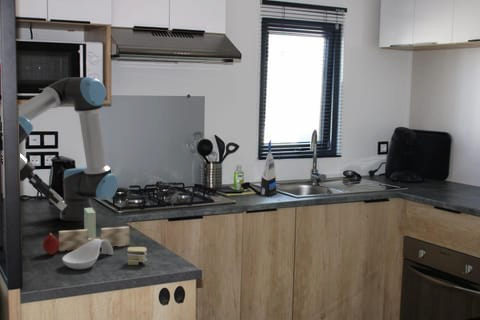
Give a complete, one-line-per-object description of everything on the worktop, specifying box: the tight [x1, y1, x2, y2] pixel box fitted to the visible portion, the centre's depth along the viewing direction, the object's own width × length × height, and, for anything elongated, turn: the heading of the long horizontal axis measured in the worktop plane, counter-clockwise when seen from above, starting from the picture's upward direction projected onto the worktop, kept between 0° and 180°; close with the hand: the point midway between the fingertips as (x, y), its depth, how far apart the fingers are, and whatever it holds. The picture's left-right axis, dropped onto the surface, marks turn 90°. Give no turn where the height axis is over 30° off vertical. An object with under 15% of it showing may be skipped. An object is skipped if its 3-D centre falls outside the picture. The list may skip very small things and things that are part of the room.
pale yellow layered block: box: [126, 246, 148, 266], centre depth 220 cm, size 10×9×6 cm
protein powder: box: [259, 139, 278, 198], centre depth 362 cm, size 10×24×30 cm, turn 174°
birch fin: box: [58, 225, 131, 252], centre depth 240 cm, size 26×2×7 cm, turn 112°
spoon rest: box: [61, 239, 114, 270], centre depth 220 cm, size 24×12×7 cm, turn 161°
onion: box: [42, 232, 60, 256], centre depth 228 cm, size 6×6×8 cm
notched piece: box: [83, 207, 97, 238], centre depth 250 cm, size 10×3×12 cm, turn 22°
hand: (62, 204), depth 245 cm, fingers open, 13 cm apart
